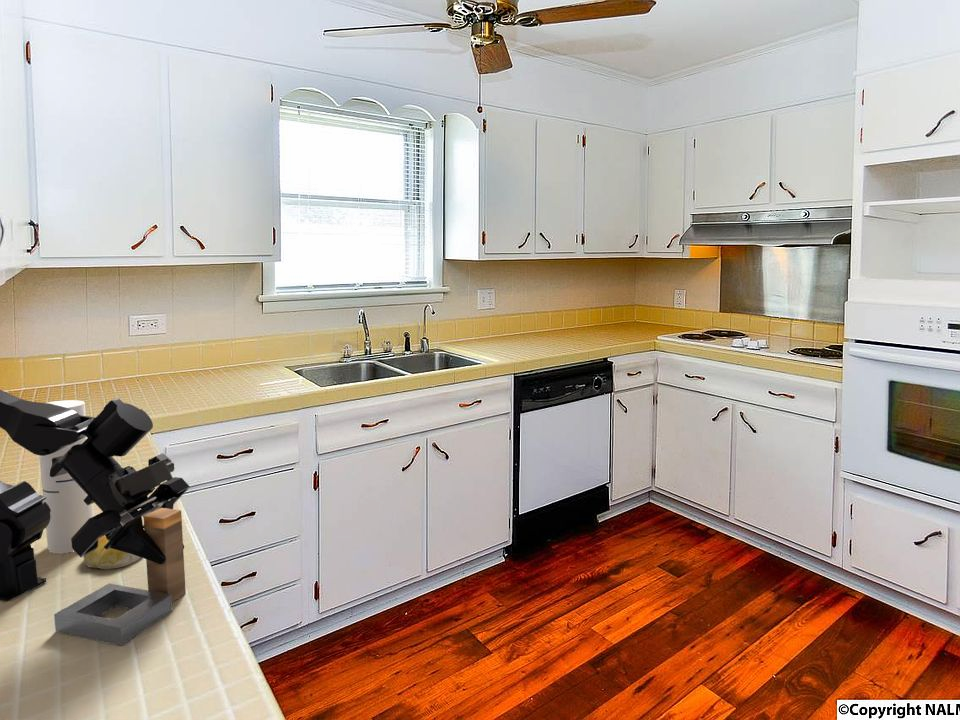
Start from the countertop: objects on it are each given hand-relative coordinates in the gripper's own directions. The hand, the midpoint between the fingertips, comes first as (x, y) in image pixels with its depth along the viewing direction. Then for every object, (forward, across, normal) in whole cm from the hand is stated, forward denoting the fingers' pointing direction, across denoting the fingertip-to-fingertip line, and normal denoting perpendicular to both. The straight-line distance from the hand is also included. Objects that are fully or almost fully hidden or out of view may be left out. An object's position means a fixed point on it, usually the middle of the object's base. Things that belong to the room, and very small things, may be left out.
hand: (173, 556), depth 97 cm
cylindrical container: (-16, +12, +26) cm, 33 cm away
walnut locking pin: (+4, 0, +6) cm, 7 cm away
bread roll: (-8, +10, +18) cm, 22 cm away
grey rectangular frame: (+2, -7, +8) cm, 11 cm away
